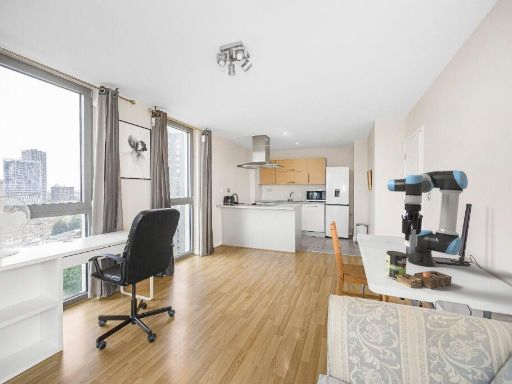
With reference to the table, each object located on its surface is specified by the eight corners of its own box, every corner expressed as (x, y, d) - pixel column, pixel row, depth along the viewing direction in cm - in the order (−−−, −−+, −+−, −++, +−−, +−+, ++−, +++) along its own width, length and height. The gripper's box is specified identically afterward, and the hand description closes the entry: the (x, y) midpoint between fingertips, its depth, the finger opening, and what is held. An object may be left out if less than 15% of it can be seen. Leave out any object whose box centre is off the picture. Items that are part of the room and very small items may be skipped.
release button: (425, 280, 125) (425, 271, 125) (430, 283, 123) (431, 274, 122) (421, 281, 124) (421, 272, 124) (427, 283, 122) (427, 274, 121)
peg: (416, 258, 123) (417, 229, 123) (411, 259, 122) (412, 229, 121) (409, 256, 127) (410, 228, 126) (404, 257, 126) (405, 228, 125)
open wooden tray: (407, 279, 130) (407, 273, 130) (421, 285, 122) (421, 279, 122) (396, 281, 127) (397, 275, 127) (410, 287, 120) (411, 281, 120)
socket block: (433, 278, 132) (433, 270, 132) (451, 285, 124) (451, 276, 123) (413, 282, 127) (414, 273, 127) (430, 289, 118) (431, 279, 118)
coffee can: (410, 279, 130) (411, 255, 130) (396, 281, 128) (397, 256, 127) (395, 272, 140) (396, 250, 140) (381, 274, 138) (382, 251, 137)
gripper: (417, 202, 130) (415, 243, 130) (395, 202, 124) (393, 245, 125) (431, 204, 123) (428, 246, 123) (408, 204, 117) (406, 248, 118)
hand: (410, 245), depth 124 cm, fingers closed on peg, 4 cm apart
